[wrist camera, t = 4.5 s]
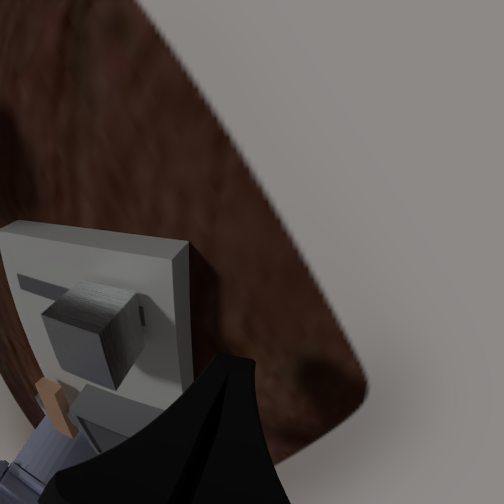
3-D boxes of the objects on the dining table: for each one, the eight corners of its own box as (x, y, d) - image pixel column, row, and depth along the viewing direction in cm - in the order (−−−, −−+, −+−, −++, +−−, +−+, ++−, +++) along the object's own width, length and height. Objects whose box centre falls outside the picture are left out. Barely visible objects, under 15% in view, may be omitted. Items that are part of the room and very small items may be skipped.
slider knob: (145, 346, 13) (116, 391, 10) (93, 331, 13) (61, 369, 10) (136, 291, 11) (98, 334, 9) (81, 279, 12) (40, 314, 9)
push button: (166, 451, 17) (157, 472, 15) (112, 432, 17) (102, 451, 16) (156, 419, 15) (145, 444, 13) (96, 398, 16) (83, 419, 14)
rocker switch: (79, 431, 17) (73, 439, 16) (60, 422, 17) (54, 429, 16) (62, 386, 15) (54, 394, 15) (42, 376, 16) (35, 383, 15)
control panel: (200, 448, 20) (186, 492, 16) (79, 407, 21) (57, 440, 17) (189, 241, 13) (142, 292, 9) (18, 219, 14) (-34, 246, 10)
